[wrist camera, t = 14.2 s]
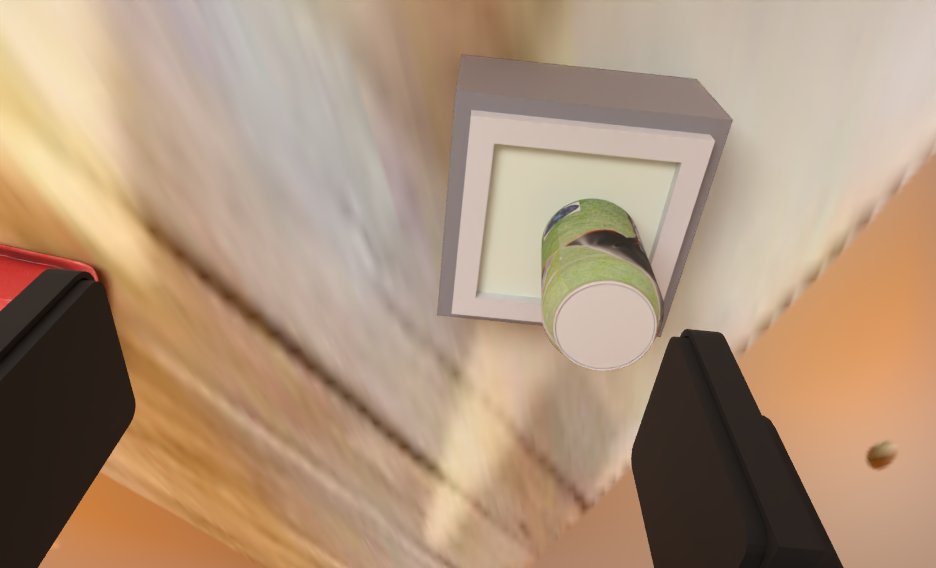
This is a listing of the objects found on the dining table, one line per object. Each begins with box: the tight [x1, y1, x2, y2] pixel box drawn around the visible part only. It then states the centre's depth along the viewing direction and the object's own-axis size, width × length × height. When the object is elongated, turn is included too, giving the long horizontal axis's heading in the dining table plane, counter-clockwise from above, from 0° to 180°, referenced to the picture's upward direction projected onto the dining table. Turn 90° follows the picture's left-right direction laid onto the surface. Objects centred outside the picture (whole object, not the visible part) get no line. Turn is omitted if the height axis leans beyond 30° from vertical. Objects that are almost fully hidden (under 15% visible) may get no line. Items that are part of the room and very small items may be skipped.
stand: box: [437, 55, 733, 337], centre depth 44 cm, size 16×16×9 cm
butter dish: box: [0, 244, 99, 311], centre depth 53 cm, size 12×12×8 cm
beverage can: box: [541, 199, 664, 371], centre depth 36 cm, size 6×7×12 cm
